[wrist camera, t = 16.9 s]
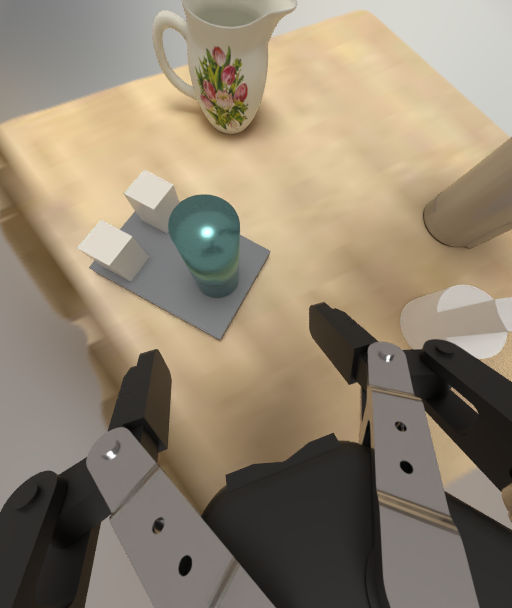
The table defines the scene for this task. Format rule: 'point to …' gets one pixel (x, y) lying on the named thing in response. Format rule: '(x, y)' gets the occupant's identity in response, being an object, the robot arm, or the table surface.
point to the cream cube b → (152, 199)
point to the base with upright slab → (459, 320)
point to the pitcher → (224, 55)
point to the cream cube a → (114, 250)
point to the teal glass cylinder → (208, 242)
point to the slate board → (185, 279)
